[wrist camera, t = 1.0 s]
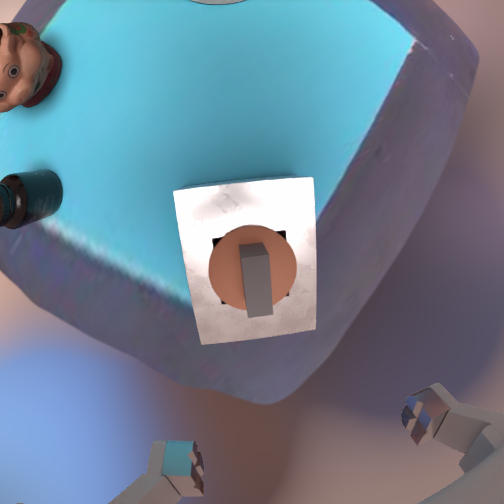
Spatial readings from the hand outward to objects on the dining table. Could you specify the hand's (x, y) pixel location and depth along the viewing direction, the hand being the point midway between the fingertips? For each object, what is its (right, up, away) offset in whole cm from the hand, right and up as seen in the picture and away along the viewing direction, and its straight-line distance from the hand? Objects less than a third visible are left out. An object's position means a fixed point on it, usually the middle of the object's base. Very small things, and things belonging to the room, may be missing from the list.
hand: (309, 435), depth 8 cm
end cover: (-3, +6, +26) cm, 27 cm away
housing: (-3, +7, +28) cm, 29 cm away
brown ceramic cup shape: (-35, +34, +16) cm, 51 cm away
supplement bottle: (-32, +15, +22) cm, 41 cm away
